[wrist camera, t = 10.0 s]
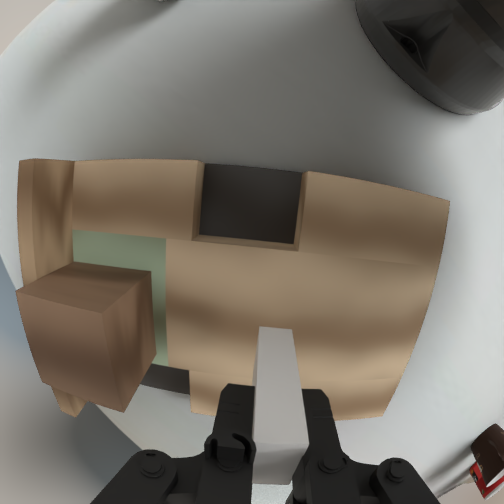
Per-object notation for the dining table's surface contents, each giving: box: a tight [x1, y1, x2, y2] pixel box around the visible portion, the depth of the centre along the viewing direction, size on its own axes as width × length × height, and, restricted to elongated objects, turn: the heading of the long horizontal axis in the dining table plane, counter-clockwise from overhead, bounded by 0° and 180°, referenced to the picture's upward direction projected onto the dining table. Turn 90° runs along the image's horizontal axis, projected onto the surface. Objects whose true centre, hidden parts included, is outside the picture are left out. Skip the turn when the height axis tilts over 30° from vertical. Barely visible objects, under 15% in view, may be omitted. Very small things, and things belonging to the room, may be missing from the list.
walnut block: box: [16, 261, 157, 413], centre depth 13 cm, size 6×6×6 cm
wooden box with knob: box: [17, 159, 450, 421], centre depth 15 cm, size 18×26×6 cm
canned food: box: [470, 462, 504, 500], centre depth 22 cm, size 8×8×11 cm
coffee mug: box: [471, 424, 504, 487], centre depth 19 cm, size 12×9×10 cm
